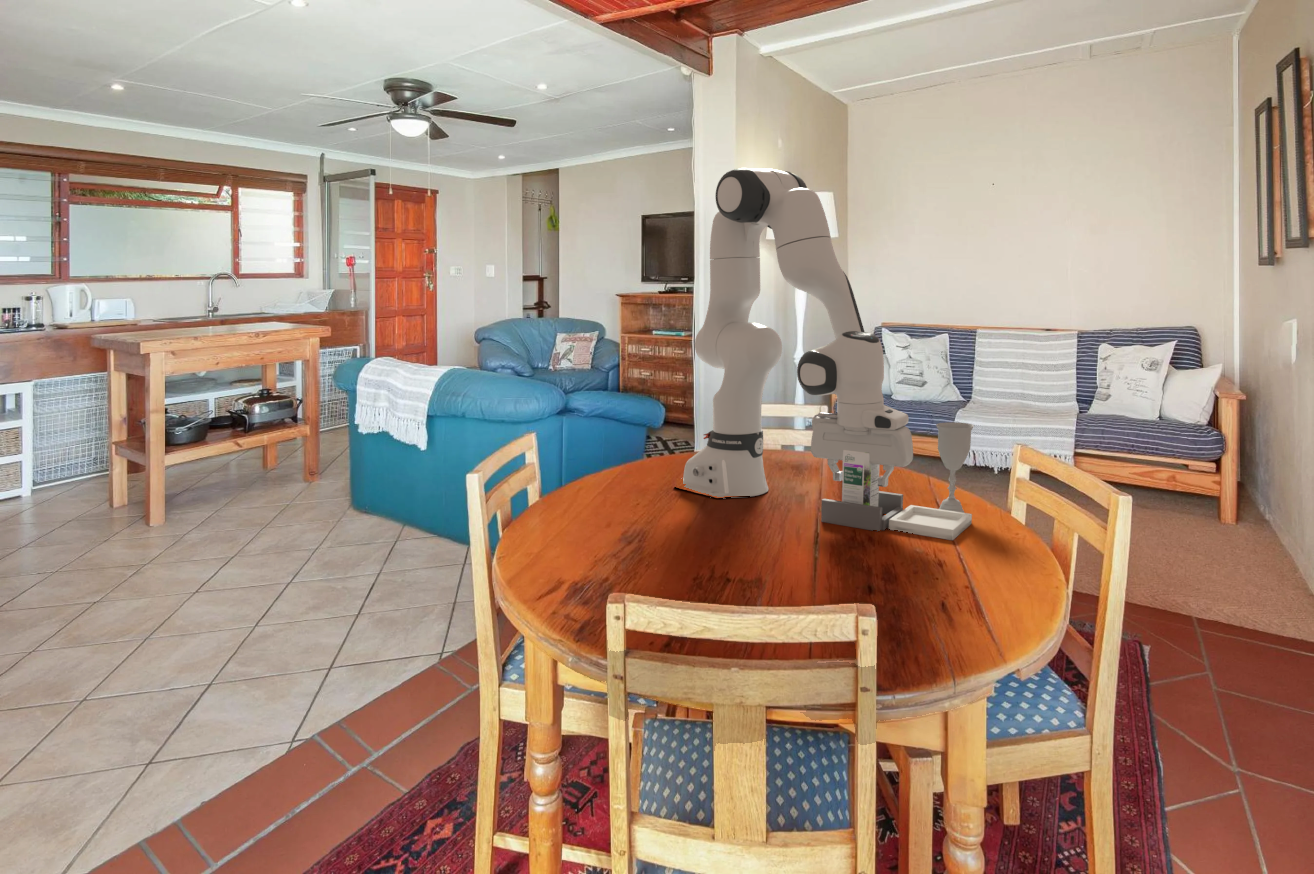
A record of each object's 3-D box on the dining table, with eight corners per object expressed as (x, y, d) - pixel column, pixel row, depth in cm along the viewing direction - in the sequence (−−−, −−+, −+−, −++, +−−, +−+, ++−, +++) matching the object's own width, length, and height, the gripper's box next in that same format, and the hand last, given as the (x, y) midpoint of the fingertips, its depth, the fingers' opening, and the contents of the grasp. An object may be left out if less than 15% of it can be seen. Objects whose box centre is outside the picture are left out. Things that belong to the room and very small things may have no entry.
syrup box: (840, 519, 154) (841, 449, 151) (852, 512, 158) (854, 444, 156) (867, 524, 150) (869, 452, 148) (879, 517, 155) (881, 447, 152)
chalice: (961, 505, 161) (965, 421, 158) (975, 514, 154) (980, 427, 151) (927, 507, 161) (930, 423, 158) (940, 516, 154) (943, 428, 151)
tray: (888, 529, 147) (888, 519, 146) (910, 514, 156) (910, 504, 156) (952, 540, 140) (953, 529, 139) (971, 523, 149) (971, 513, 148)
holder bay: (821, 521, 153) (821, 499, 152) (846, 507, 162) (847, 486, 162) (881, 532, 145) (882, 509, 144) (904, 516, 155) (905, 494, 154)
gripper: (804, 414, 154) (805, 480, 157) (904, 421, 141) (903, 493, 144) (819, 409, 159) (819, 473, 161) (916, 415, 146) (915, 485, 149)
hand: (860, 483), depth 153 cm, fingers open, 8 cm apart
